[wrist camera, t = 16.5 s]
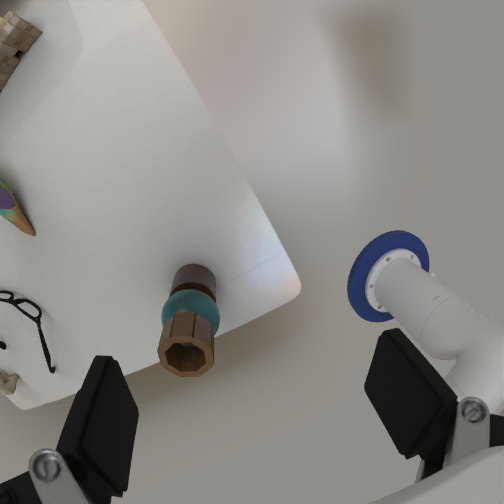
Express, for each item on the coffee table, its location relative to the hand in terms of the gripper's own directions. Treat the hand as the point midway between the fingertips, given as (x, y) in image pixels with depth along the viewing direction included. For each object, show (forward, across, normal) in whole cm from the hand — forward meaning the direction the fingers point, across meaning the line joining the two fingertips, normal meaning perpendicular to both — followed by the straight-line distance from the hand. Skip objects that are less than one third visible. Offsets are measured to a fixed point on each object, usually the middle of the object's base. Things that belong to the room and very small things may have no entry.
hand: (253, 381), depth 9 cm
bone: (+32, +58, +37) cm, 76 cm away
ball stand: (+32, +5, +12) cm, 35 cm away
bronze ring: (+20, +5, +12) cm, 24 cm away
